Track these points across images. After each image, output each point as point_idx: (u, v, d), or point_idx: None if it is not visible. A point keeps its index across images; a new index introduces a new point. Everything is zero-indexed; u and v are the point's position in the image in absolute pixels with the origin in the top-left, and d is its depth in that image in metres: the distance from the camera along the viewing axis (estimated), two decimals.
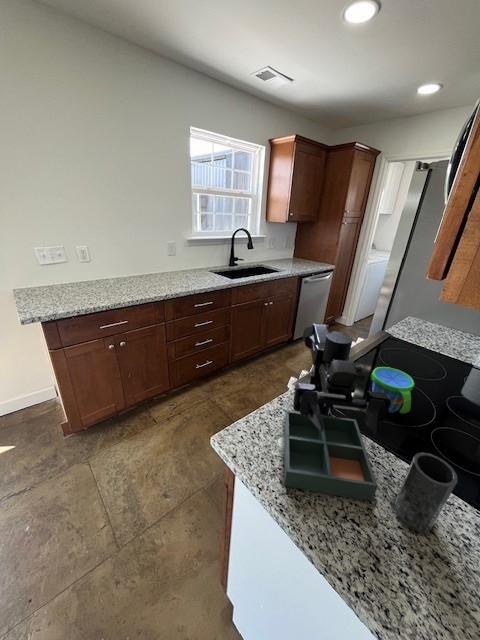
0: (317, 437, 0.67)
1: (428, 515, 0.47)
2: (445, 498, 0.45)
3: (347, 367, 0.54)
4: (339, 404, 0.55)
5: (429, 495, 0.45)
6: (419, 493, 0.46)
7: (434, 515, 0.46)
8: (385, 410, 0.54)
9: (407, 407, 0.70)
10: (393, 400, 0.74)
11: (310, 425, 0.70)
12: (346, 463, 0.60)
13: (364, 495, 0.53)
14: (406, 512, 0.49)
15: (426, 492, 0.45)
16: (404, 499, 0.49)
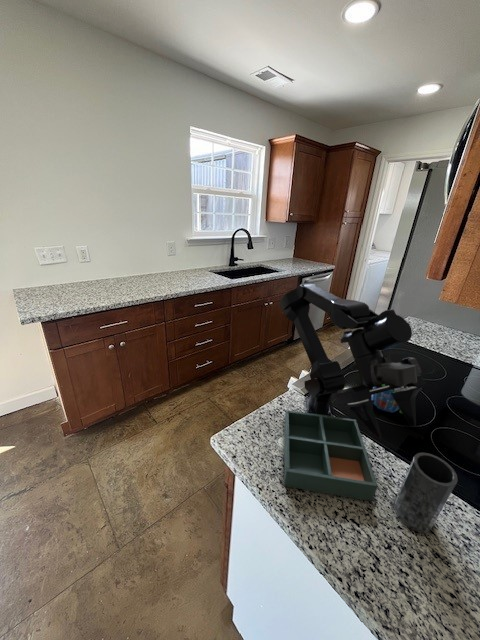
0: (317, 437, 0.67)
1: (428, 515, 0.47)
2: (445, 498, 0.45)
3: (410, 376, 0.49)
4: (380, 392, 0.55)
5: (429, 495, 0.45)
6: (419, 493, 0.46)
7: (434, 515, 0.46)
8: None
9: None
10: (393, 400, 0.74)
11: (310, 425, 0.70)
12: (346, 463, 0.60)
13: (364, 495, 0.53)
14: (406, 512, 0.49)
15: (426, 492, 0.45)
16: (404, 499, 0.49)
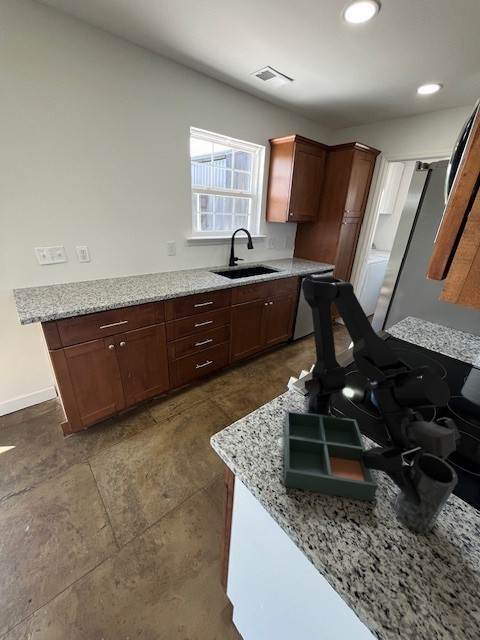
0: (317, 437, 0.67)
1: (428, 515, 0.47)
2: (445, 498, 0.45)
3: (449, 444, 0.44)
4: None
5: (429, 495, 0.45)
6: (419, 493, 0.46)
7: (434, 515, 0.46)
8: None
9: None
10: None
11: (310, 425, 0.70)
12: (346, 463, 0.60)
13: (364, 495, 0.53)
14: (406, 512, 0.49)
15: (426, 492, 0.45)
16: (404, 499, 0.49)
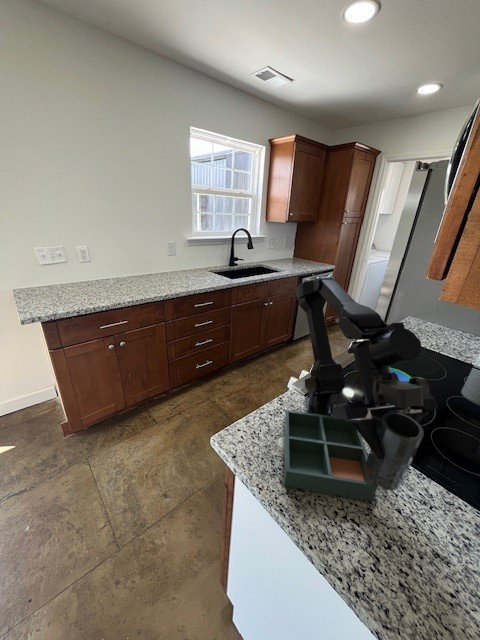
0: (317, 437, 0.67)
1: (392, 470, 0.47)
2: (408, 453, 0.45)
3: (415, 398, 0.44)
4: None
5: (392, 448, 0.45)
6: (383, 447, 0.47)
7: (398, 471, 0.47)
8: None
9: None
10: None
11: (310, 425, 0.70)
12: (346, 463, 0.60)
13: (364, 495, 0.53)
14: (372, 468, 0.50)
15: (389, 445, 0.46)
16: (372, 455, 0.50)
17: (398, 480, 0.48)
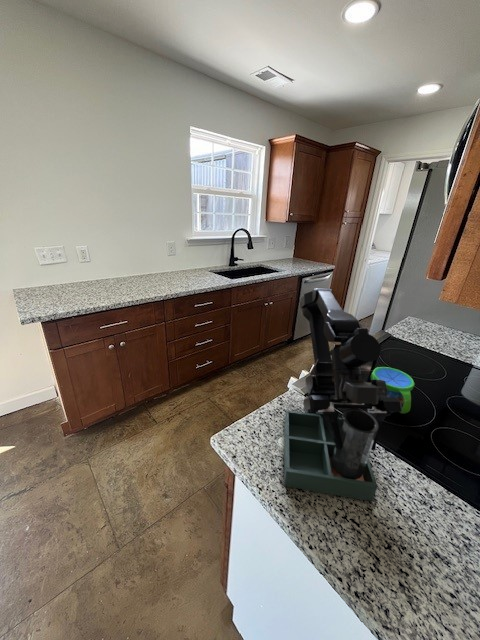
0: (317, 437, 0.67)
1: (348, 460, 0.52)
2: (361, 445, 0.50)
3: (369, 396, 0.49)
4: None
5: (347, 439, 0.51)
6: (342, 438, 0.52)
7: (354, 461, 0.52)
8: (393, 411, 0.56)
9: (407, 407, 0.70)
10: None
11: (310, 425, 0.70)
12: None
13: (364, 495, 0.53)
14: (335, 457, 0.56)
15: (345, 436, 0.51)
16: (335, 445, 0.56)
17: (355, 470, 0.53)
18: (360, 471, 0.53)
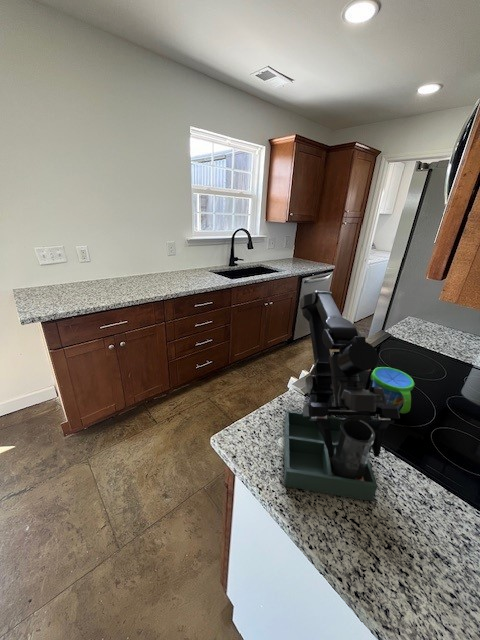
0: (317, 437, 0.67)
1: (346, 469, 0.53)
2: (359, 454, 0.51)
3: (367, 404, 0.50)
4: None
5: (345, 449, 0.52)
6: (339, 447, 0.53)
7: (352, 470, 0.53)
8: (391, 418, 0.56)
9: (407, 407, 0.70)
10: (393, 400, 0.74)
11: (310, 425, 0.70)
12: None
13: (364, 495, 0.53)
14: (333, 466, 0.57)
15: (343, 446, 0.52)
16: None
17: None
18: (358, 479, 0.54)
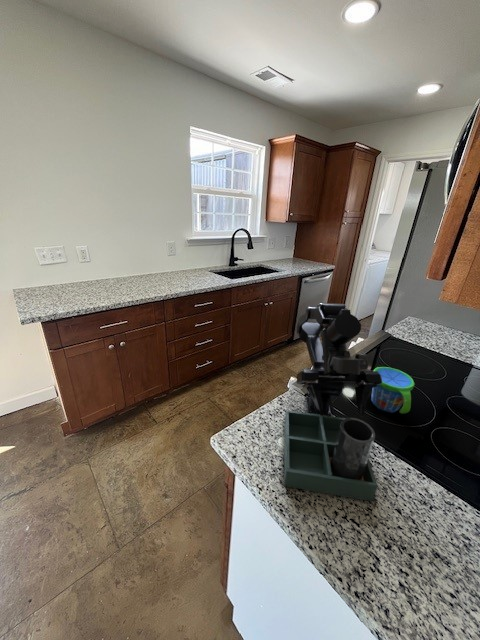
0: (317, 437, 0.67)
1: (346, 469, 0.53)
2: (359, 454, 0.51)
3: (352, 367, 0.57)
4: (337, 381, 0.63)
5: (345, 449, 0.52)
6: (339, 447, 0.53)
7: (352, 470, 0.53)
8: (375, 384, 0.63)
9: (407, 407, 0.70)
10: (393, 400, 0.74)
11: (310, 425, 0.70)
12: None
13: (364, 495, 0.53)
14: (333, 466, 0.57)
15: (343, 446, 0.52)
16: (333, 454, 0.57)
17: None
18: (358, 479, 0.54)
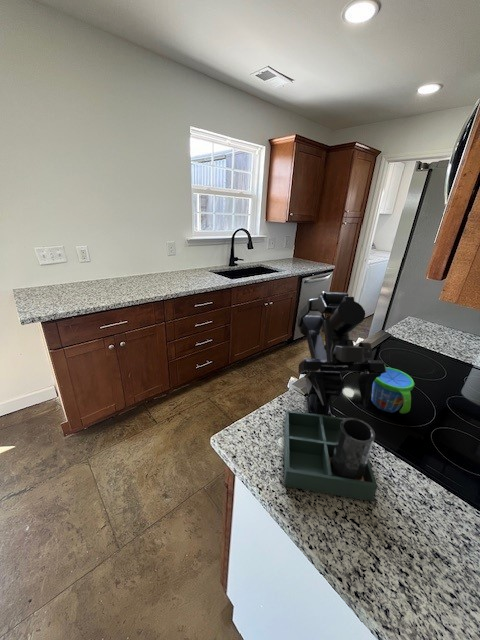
0: (317, 437, 0.67)
1: (346, 469, 0.53)
2: (359, 454, 0.51)
3: (356, 355, 0.55)
4: None
5: (345, 449, 0.52)
6: (339, 447, 0.53)
7: (352, 470, 0.53)
8: None
9: (407, 407, 0.70)
10: (393, 400, 0.74)
11: (310, 425, 0.70)
12: None
13: (364, 495, 0.53)
14: (333, 466, 0.57)
15: (343, 446, 0.52)
16: (333, 454, 0.57)
17: None
18: (358, 479, 0.54)
